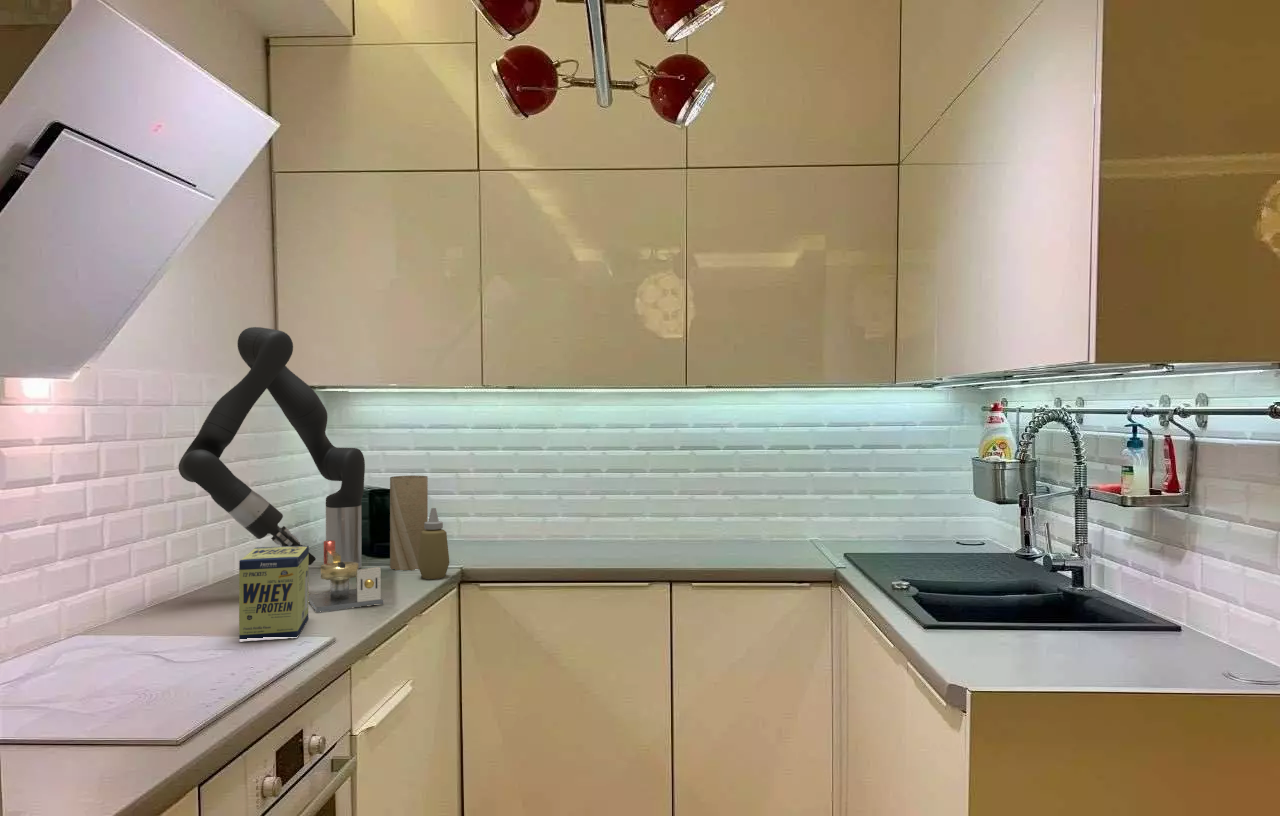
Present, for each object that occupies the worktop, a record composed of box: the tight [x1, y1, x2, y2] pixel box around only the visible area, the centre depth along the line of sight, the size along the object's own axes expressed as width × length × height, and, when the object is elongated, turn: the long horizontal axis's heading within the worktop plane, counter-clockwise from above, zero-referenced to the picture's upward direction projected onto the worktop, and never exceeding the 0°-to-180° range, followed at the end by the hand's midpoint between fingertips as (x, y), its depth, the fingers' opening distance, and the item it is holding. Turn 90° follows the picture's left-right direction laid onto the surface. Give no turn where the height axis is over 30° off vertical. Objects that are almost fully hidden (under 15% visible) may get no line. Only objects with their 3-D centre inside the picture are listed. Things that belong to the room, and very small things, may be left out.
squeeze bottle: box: [418, 507, 450, 580], centre depth 207 cm, size 8×8×18 cm
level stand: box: [308, 566, 384, 613], centre depth 180 cm, size 15×14×8 cm
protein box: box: [238, 545, 310, 639], centre depth 158 cm, size 10×16×16 cm
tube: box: [389, 475, 429, 571], centre depth 220 cm, size 10×10×25 cm
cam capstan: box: [320, 540, 358, 581], centre depth 184 cm, size 19×8×6 cm, turn 31°
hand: (312, 561), depth 190 cm, fingers closed
